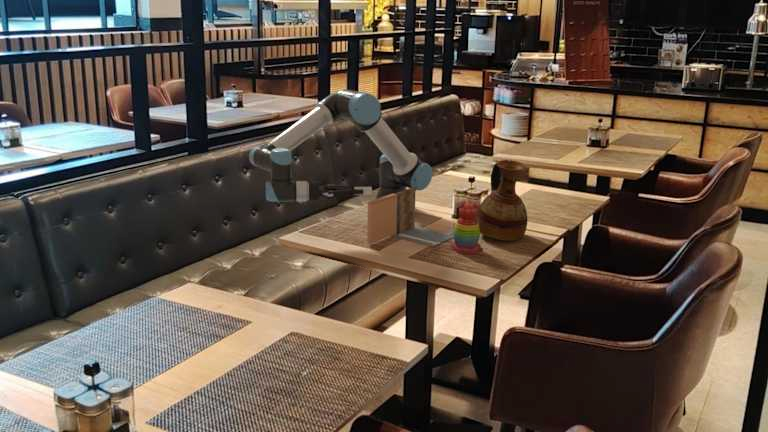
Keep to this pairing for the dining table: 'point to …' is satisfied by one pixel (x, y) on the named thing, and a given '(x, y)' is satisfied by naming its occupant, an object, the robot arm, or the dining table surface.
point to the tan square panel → (382, 218)
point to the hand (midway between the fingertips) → (371, 190)
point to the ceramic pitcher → (503, 204)
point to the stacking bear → (467, 230)
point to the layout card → (424, 236)
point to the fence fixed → (405, 210)
